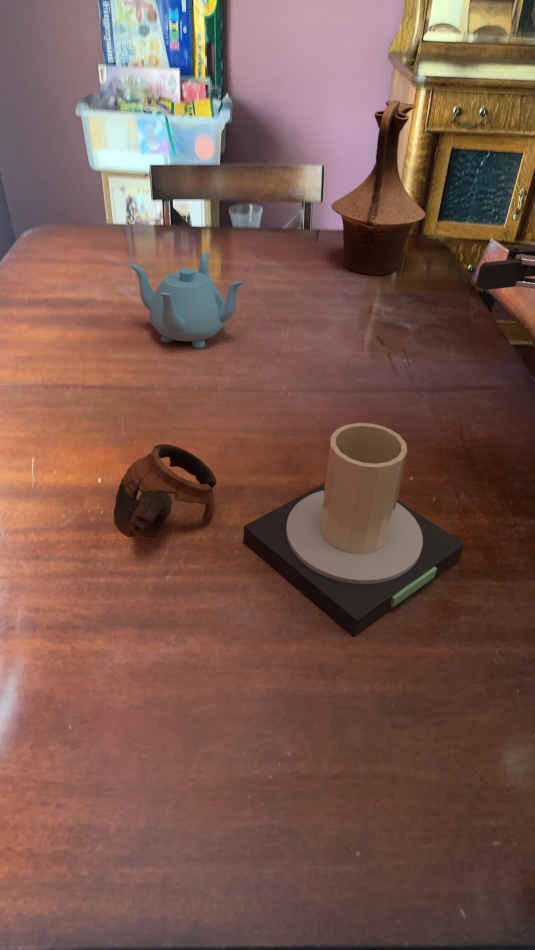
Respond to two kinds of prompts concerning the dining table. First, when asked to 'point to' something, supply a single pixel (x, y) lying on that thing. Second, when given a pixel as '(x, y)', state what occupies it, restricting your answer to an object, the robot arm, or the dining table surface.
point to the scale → (351, 560)
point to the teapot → (187, 304)
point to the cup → (361, 486)
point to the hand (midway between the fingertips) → (511, 296)
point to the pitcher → (379, 204)
